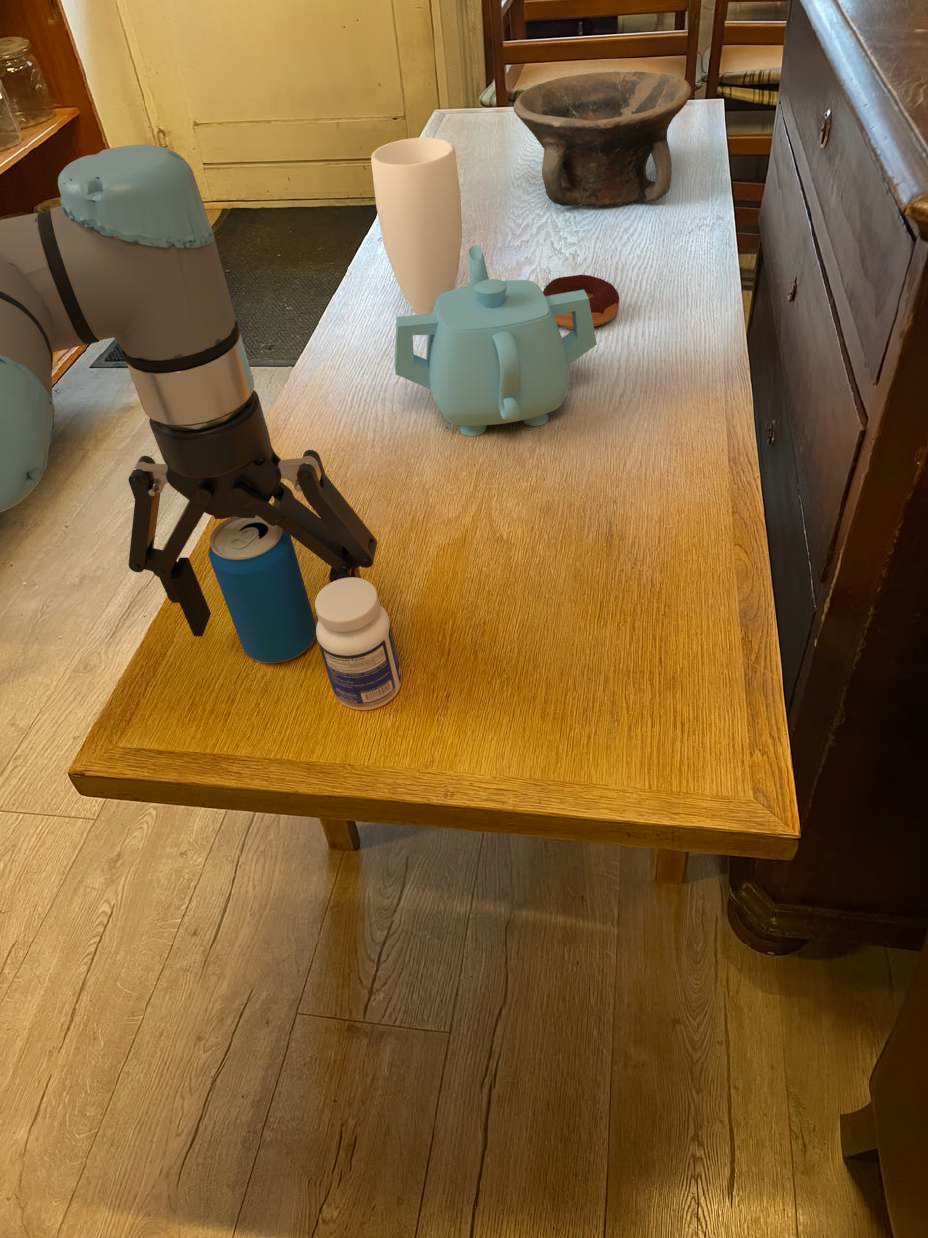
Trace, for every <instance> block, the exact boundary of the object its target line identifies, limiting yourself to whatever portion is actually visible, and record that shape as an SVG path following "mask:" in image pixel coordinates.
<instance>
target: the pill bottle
mask: <svg viewBox="0 0 928 1238" xmlns="http://www.w3.org/2000/svg"><path fill="white" fill-rule="evenodd" d="M314 608H315V612H316V615H317V619H318V621H317V623H316V636H315V637H316V639H317V640H316V641H317V643H318V646H319V649H320V653H321V656H322V660H323V663H324V666H325V669H326V673H327V676H328V679H329V682H330V686H331V689H332V693H333V695H334V697H335V699H336V700H337V701H338V702H339V703H340V704H342V705H343V706H345V707H347V708H349V709H351V710H357V711H370V710H371V711H372V710H375V709H378V708H381V707H383V706H385V705H386V704H388V703H389V702H391V701H392V700H393V699H394V698H395V697H396V696H397V694H398V693H399V692H400V689H401V687H402V681H403V675H402V669H401V665H400V659H399V655H398V650H397V646H396V642H395V637H394V633H393V628H392V624H391V620H390V619H391V618H390V617H389V614H388V612H387V610H386V609H385V608H384V606H382V605H381V602H380V599H379V595H378V591H377V589H376V587H375V585H374V584H372V582H370V581H368V580H367V579H364V578H362V577H361V578H355V577H349V578H342V579H339V580H336V581H333V582H331V583H330V582H329V583H327V584H326V585H325V586H323V588H321V590H320V591H319V592H318V594H317V595H316V597H315V601H314Z"/></svg>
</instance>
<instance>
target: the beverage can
mask: <svg viewBox="0 0 928 1238" xmlns="http://www.w3.org/2000/svg"><path fill="white" fill-rule="evenodd" d="M208 559H209V561H210V564H211V567H212V570H213V572H214V575H215V578H216V580H217V583H218V586H219V588H220V591H221V594H222V596H223V599H224V601H225V604H226V607H227V610H228V612H229V616H230V618H231V620H232V624H233V626H234V628H235V631H236V634H237V636H238V639H239V641H240V645H241V647H242V650H243V651H244V653H245V654H246V655H247V657H249V658H250V659H252V660H254V661H256V662H260V663H265V664H276V663H277V664H278V663H283V662H288V661H290V660H293V659H294V658H297V657H298V656H300V655H302V654H303V653H304V652H305V651H307V650H308V649H309V648H310V647H311V645H312V644H313V643H314V640H315V639H316V637H317V636H316V627H317V623H316V620H315V616H314V614H313V610H312V607H311V602H310V599H309V596H308V592H307V589H306V584H305V581H304V578H303V575H302V571H301V567H300V564H299V561H298V557H297V553H296V550H295V547H294V543H293V538H292V536H291V535H290V534H288V533H287V532H286V531H284V530H283V529H282V528H280V527H279V526H277V525H276V526H271V525H270V524H268V523H267V522H266V521H264V520H263V519H262V518H260V517H259V516H258V515H256V516H255V518H240V517H235V516H234V517H230V518H226V519H224V520H223V521H221V522H220V523H219V524H218V525H217V526H216V527H215V528H214V529H213V531H212V532H211V534H210V537H209V550H208Z"/></svg>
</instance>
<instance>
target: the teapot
mask: <svg viewBox="0 0 928 1238" xmlns="http://www.w3.org/2000/svg"><path fill="white" fill-rule="evenodd" d="M468 265H469V281H468V285H467V286H463V287H458V288H454V289H453V290H450V291H447V292H444V293H442V294H440V295H439V296H438V297H437V298H436V301H435V304H434V307H433V312H432V314H422V315H417V314H414V315H413V314H412V315H402V316H396V321H395V343H394V363H393V364H394V372H395V375H397V376H399V377H400V378H401V377H402V378H404V379H406V380H408V381H410V382H412V383H414V384H416V385H419V386H422V387H423V388H425V389H428V390H429V391H430V394H431V396H432V398H433V401H434V403H435V405H436V407H437V409H438V410H439V412H440V414H441V415H442V416H443V418H444V419H445V420H446V421H447V423H449V424H452V425H455V426H460V430H459V431H460V433H461V434H462V435H464V436H467V437H476V436H479V435H482V434H484V433H485V432H486V430H487V426H489V425H490V426H491V425H493V426H494V425H501V424H509V423H515V422H519V421H520V422H521V421H522V422H523V423H524V424H525V425H527V426H531V427H539V426H543V425H545V424H547V423H548V422H549V419H550V417H549V416H548V413H551V412H555V410H557V409H559V408H560V407H561V405H562V404H563V402H564V400H565V398H566V397H567V394H568V392H569V387H570V372H569V371H570V369H569V366H571V365H573V364H574V363H575V362H576V361H577V360H579V359H580V358H581V357H582V356H584V355H585V354H586V353H588V352H589V351H590V350H592V349H593V348H595V347H596V346H597V345H598V343H597V338H596V332H595V327H594V326H593V320H592V314H591V309H590V303H589V298H588V296H587V294H586V292H585V290H579V291H573V292H567V293H562V294H556V295H550V296H545V295H544V294H543V290H542V289H541V287H540V285H538V284H537V283H536V282H535V281H533V280H527V279H513V280H501V279H496V278H491V279H490V278H489V274H488V271H487V266H486V261H485V256H484V253H483V251H482V248H480V247H479V246H478V245H472V246H471V247H469V249H468ZM570 312H572V319H573V329H572V330H571V331H570V332H568V333H567V334H565V335H564V336H562V333H561V331H560V328H559V325H558V324H557V322H556V320H555V316H559V315H562V314H566V313H570ZM414 336H427V338H426V358H424V357H422V356H419V355H416V354H415V353H414V352H415V351H414Z"/></svg>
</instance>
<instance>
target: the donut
mask: <svg viewBox="0 0 928 1238" xmlns="http://www.w3.org/2000/svg"><path fill="white" fill-rule="evenodd" d="M579 290H585V292H586V294H587V296H588V298H589V303H590V309H591V314H592V320H593V326H594V328H596V327H599V326H602V325H605V324H607V323H608V322H610V321H611V320H612V319H614V317H615V316H616V315H617V313H618V312H619V308H620V306H619V304H620V294H619V291H618V290H617V289H616V287H615V286H614V285H613V284H612V283H611V282H609V281H606V280H605V279H603V278H600V277H598V276H597V277H596V276H594V275H589V274H575V275H568V276H560V277H557V278H553V280H551V281H550V282H549V283H548V284H546V285H545V287H544V289H543V290H542V292H543V294H544V295H545V296H550V295H556V294H562V293H567V292H573V291H579ZM555 320H556V322H557V325H558V326H559V327H560V326H561V327H563V328H566V329H570V330H573V319H572V312H570V313H566V314H562V315H559V316H555Z"/></svg>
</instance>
